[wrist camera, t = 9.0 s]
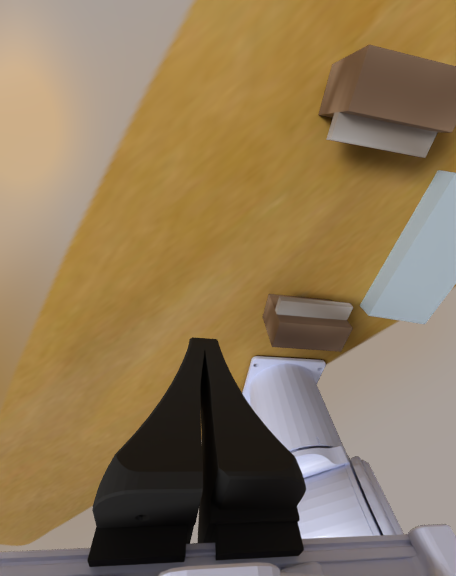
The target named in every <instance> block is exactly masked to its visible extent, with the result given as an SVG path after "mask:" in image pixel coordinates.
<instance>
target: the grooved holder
mask: <svg viewBox="0 0 456 576" xmlns="http://www.w3.org/2000/svg"><path fill="white" fill-rule="evenodd" d="M319 115H321V116H326V117H331V118H333V119H332V123H331V126H330V129H329V133H328V136H327V140H332V141H337V142H342V143H348V144H353V145H358V146H364V147H369V148H374V149H379V150H385V151H390V152H395V153H400V154H406V155H411V156H416V157H424V158H425V157H426V155H427V153H428V151H429V149H430V147H431V145H432V143H433V141H434V139H435V137H436V135H437V133H438V132H452V131H453V129H454V127H455V125H456V66H452V65H448V64H444V63H440V62H436V61H432V60H428V59H424V58H420V57H416V56H412V55H408V54H404V53H400V52H396V51H392V50H389V49H385V48H381V47H377V46H373V45H368V46H366V47H364V48H362V49H360V50H358V51H356V52H355V53H353V54H351V55H349V56H347V57H345V58H343V59H341V60H340V61H338V62H336V63H334V64H332V68H331V71H330V75H329V79H328V82H327V86H326V89H325V93H324V97H323V100H322V104H321V108H320V111H319ZM352 309H353V307H352V305H351V304H350V303H343V302H333V301H332V300H326V299H315V298H305V297H294V296H284V295H273V294H269V296H268V299H267V303H266V306H265V310H264V314H263V319H264V323H265V326H266V329H267V332H268V335H269V339H270V342H271V345H272V347H282V348H297V349H312V350H327V351H342V349H343V347H344V345H345V343H346V341H347V339H348V337H349V335H350V333H351V331H352V329H353V328H352V326H351V325H350V324H349V322H348V321H347V319H348V317H349V315H350V313H351V311H352Z"/></svg>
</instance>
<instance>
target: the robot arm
mask: <svg viewBox="0 0 456 576" xmlns="http://www.w3.org/2000/svg"><path fill="white" fill-rule="evenodd" d="M325 366H326V364H325V362H324V361H323V360H313V359H297V358H280V357H264V356H255V357H253V358H252V360H251V364H250V367H249V371H248V374H247V378H246V382H245V385H244V389H243V392H242V393H241V391H240V389H239V388H238V386H237V384H236V382H235V380H234V379H233V377H232V375H231V373H230V371H229V369H228V367H227V364H226V362H225V360H224V357H223V355H222V352H221V350H220V347H219V343H218V341H217V340H216V339H205V338H191V339H190V341H189V346H188V349H187V352H186V355H185V357H184V360H183V362H182V364H181V366H180V368H179V370H178V372H177V374H176V376H175V378H174V380H173V382H172V383H171V385H170V387H169V388H168V390H167V392H166V393H165V395H164V396H163V398H162V399H161V401H160V402H159V403H158V405H157V406H156V408H155V409H154V410H153V412H152V413H151V414H150V416H149V417H148V418H147V419H146V421H145V422H144V423H143V424H142V425H141V427H140V428H139V429H138V430H137V431H136V433H135V434H134V435H133V436H132V437H131V438H130V439H129V440H128V441H127V442H126V444H125V445H124V446H123V447H122V448H121V449H120V450H119V451H118V452H117V453H116V454H115V456H114V458H113V459H112V461H111V463H110V464H109V466H108V468H107V470H106V472H105V474H104V476H103V478H102V480H101V483H100V485H99V488H98V491H97V494H96V497H95V501H94V504H93V514H94V518H95V521H96V526H97V527H96V531H95V534H94V538H93V541H92V545H91V548H78V549H57V550H56V549H55V550H32V551H9V552H0V576H456V536H455V535H454V533H453V531H452V530H451V528H450V526H449V525H446V524H437V525H420V526H417V527H415V528H413V529H412V530H410V531H409V532H408V534H404V533H403V531H402V529H401V527H400V525H399V523H398V521H397V519H396V517H395V515H394V513H393V511H392V509H391V507H390V505H389V503H388V501H387V499H386V497H385V495H384V493H383V491H382V489H381V487H380V485H379V483H378V481H377V479H376V477H375V475H374V473H373V471H372V469H371V467H370V465H369V463H367V462H366V461H364V460H361V459H360V458H359V457H358V456H355V457H353V458H351V460H350V458H349V456H348V455H347V453H346V451H345V449H344V447H343V444H342V442H341V440H340V438H339V435H338V433H337V431H336V428H335V426H334V424H333V422H332V419H331V417H330V415H329V413H328V410H327V408H326V406H325V403H324V401H323V399H322V397H321V394H320V392H319V390H318V387H317V385H316V384H317V382H318V380H319V378H320V376H321V374H322V372H323V370H324V368H325ZM200 410H201V413H200ZM201 428H202V446H201ZM198 509H199V526H198V543H194V544H190V540H191V536H192V532H193V527H194V525H195V523H196V518H197V513H198Z"/></svg>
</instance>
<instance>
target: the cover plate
mask: <svg viewBox="0 0 456 576" xmlns="http://www.w3.org/2000/svg"><path fill="white" fill-rule="evenodd" d="M455 284H456V173H453V172H447V171H440V170H438V171H437V173H436V175H435V177H434V178H433V180H432V182H431V184H430V185H429V187H428V189H427V190H426V192H425V194H424V196H423V197H422V199H421V201H420V203H419V204H418V206H417V208H416V209H415V211H414V213H413V215H412V216H411V218H410V220H409V222H408V223H407V225H406V227H405V228H404V230H403V232H402V234H401V235H400V237H399V239H398V240H397V242H396V244H395V246H394V247H393V249H392V251H391V253H390V254H389V256H388V258H387V259H386V261H385V263H384V265H383V266H382V268H381V270H380V272H379V273H378V275H377V277H376V278H375V280H374V282H373V284H372V285H371V287H370V289H369V291H368V292H367V294H366V296H365V297H364V299H363V301H362V303H361V304H360V306H361V308H362V309H363V310H364V311H365V312H366V313H367V314H368V315H369V316H375V317H382V318H388V319H394V320H401V321H407V322H414V323H420V324H425V323H426V322H427V321H428V319H429V318H430V317H431V315H432V314H433V313H434V312H435V310H436V309H437V308H438V306H439V305H440V304H441V302H442V301H443V300H444V298H445V297H446V296H447V294H448V293H449V292H450V290H451V289H452V288H453V287H454V285H455Z"/></svg>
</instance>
